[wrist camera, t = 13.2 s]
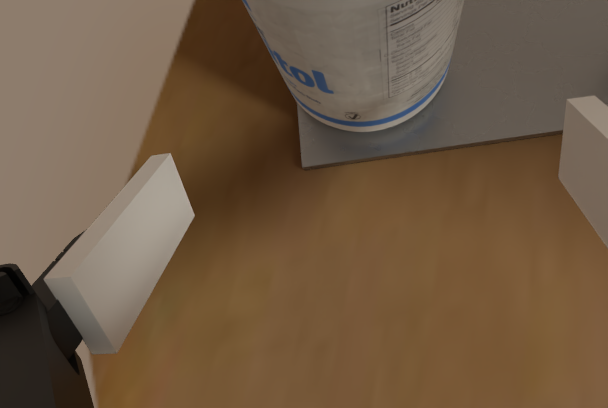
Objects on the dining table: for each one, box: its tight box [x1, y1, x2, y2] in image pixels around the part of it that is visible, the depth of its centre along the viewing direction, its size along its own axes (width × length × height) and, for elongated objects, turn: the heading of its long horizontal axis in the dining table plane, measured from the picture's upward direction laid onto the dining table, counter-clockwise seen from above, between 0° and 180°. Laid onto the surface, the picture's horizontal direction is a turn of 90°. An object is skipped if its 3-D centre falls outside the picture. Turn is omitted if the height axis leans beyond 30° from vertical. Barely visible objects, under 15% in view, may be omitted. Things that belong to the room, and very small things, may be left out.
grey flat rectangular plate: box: [297, 0, 608, 170], centre depth 25 cm, size 26×12×1 cm, turn 95°
